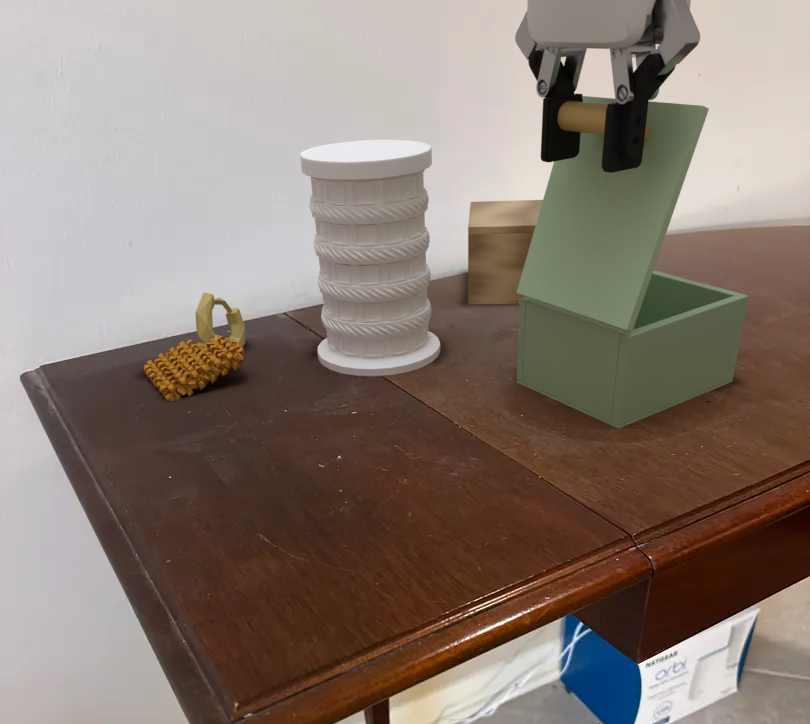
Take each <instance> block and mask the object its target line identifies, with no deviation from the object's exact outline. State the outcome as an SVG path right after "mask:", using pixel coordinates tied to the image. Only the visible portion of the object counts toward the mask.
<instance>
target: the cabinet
mask: <svg viewBox="0 0 810 724" xmlns="http://www.w3.org/2000/svg"><path fill="white" fill-rule="evenodd" d="M542 202H543V199H525V200H524V199H523V200H485V201H484V200H483V201H470V204H469V213H468V223H467V298H468V299H467V304H468V305H513V304H515V305H516V304H518V305H519V299H521V298H524V297H527V296H524V295H521V294H518V293H517V289H518V286H519V282H520V279H521V275H522V272H523V268H524V265H525V261H526V258H527V254H528V251H529V247H530V244H531V240H532V237H533V233H534V230H535V226H536V223H537V219H538V216H539V212H540V209H541V205H542Z"/></svg>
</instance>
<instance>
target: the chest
mask: <svg viewBox="0 0 810 724" xmlns="http://www.w3.org/2000/svg"><path fill="white" fill-rule="evenodd" d="M749 297H750V296H749V294H748V295H747V294H745V293H740V292H737V291H733V290H729V289H725V288H722V287H718V286H714V285H711V284H707V283H703V282H700V281H695V280H692V279H687V278H684V277H680V276H677V275H673V274H669V273H665V272H662V271H658V270H655V269H654V270H653V273H652V276H651V279H650V282H649V285H648V287H647V290H646V293H645V296H644V299H643V302H642V305H641V308H640V311H639V314H638V316H637V319H636V322H635V325H634V328H633V331H627V330H624V329H621V328H618V327H615V326H612V325H609V324H606V323H603V322H600V321H597V320H594V319H591V318H588V317H585V316H582V315H580V314H577V313H574V312H571V311H568V310H565V309H562V308H559V307H556V306H553V305H550V304H547V303H544V302H541V301H538V300H535V299H533V298H530V297H524V298H521V299H519V304H518V328H517V329H518V331H517V356H516V357H517V358H516V383H517V384H519V385H521V386H524V387H525V388H528V389H530V390H532V391H535V392H537V393H539V394H541V395H543V396H546V397H548V398H550V399H552V400H555V401H556V402H559V403H561V404H564V406H565V405H566V406H567V407H570V408H572V409H574V410H576V411H579V412H581V413H583V414H585V415H587V416H590V417H592V418H594V419H596V420H598V421H601V422H603V423H605V424H607V425H609V426H611V427H614V428H616V429H621V428H624V427H626V426H628V425H631V424H633V423H635V422H638V421H640V420H643V419H645V418H648V417H651V416H653V415H655V414H658V413H660V412H663V411H665V410H667V409H670V408H673V407H675V406H677V405H679V404H682V403H684V402H686V401H689V400H691V399H694V398H697V397H698V396H701V395H704V394H706V393H708V392H711V391H713V390H715V389H718V388H720V387H723V386H725V385H728V384H730V383H732V382H733V379H734V374H735V369H736V364H737V360H738V353H739V348H740V345H741V344H740V343H741V340H742V339H741V338H742V333H743V330H744V329H743V328H744V323H745V317H746V314H747V313H746V312H747V308H748V302H749Z"/></svg>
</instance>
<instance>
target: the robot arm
mask: <svg viewBox="0 0 810 724" xmlns="http://www.w3.org/2000/svg"><path fill="white" fill-rule="evenodd" d="M691 1H692V0H526V3H527V4H526V6H527V10H526V11H525V13H524V16H523V18H522V20H521V22H520V24H519V26H518V28H517V30H516V33H515V36H514V38H515V39H514V41H515V43H516V45H517V47H518V48H519V50H520V51H521V53H522V54H523V56H524V58H525V59H526V61H528V62H527V63H528V67H529V69H530V71H531V72H532V75H533V77H534V78H535V80H536V88H535V89H536V94H537V95H538V97H539V98H542V99H543V100H542V118H541V138H540V139H541V141H540V160H541V161H542V162H543V163H554V161H560V160H565V159H570V158H575V157H576V156H577V155H578V154H579V149H580V134H581V132H574V131H566V130H563V129H561V128H560V126H559V124H558V112H559V109H560V107H561V106H562V104H563V103H565V102H567V101H575V102H583V99H582V96H583V93H575V92H576V90H577V88H578V85H579V81H580V76H581V73H582V69H583V65H584V61H585V57H586V54H587V50H588V49H595V50H597V49H600V50H609V55H610V64H611V65H610V66H611V73H612V74H611V75H612V82H613V93H614V99H616V101H617V103H611V104H608V105H607V109H606V118H605V130H604V142H603V154H602V169H603V171H604V172H609V173H613V172H618V171H623V170H628V169H633V168H637V167H639V166H640V165H641V162H642V155H643V147H644V138H645V129H646V120H647V111H648V102H649V101H653V100H655V99H656V98H657V97H658V95H659V94H660V88H661V87H662V85H663V84H664V83H665V82H666V81H667V79H668V78H669V77H670V76H671V75H672V73H674V71H675V70H676V69H675V68H676V66H677V65H679V64H680V63H681V62H683V60H685V59H686V58H687V56H689V54H690V53H691V52H692V51H694V49H696V47H697V46H698V45H699V43H700V40H701V33H700V31H699V28H698V26H697V23H696V21H695V18H694V15H693V14H692V12H691V4H692V2H691ZM657 45H658V46H657ZM562 58H565V59H564V64H563V62H562ZM633 58H635V65H636V69H635V70H634V65H633Z"/></svg>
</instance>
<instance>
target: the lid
mask: <svg viewBox="0 0 810 724" xmlns="http://www.w3.org/2000/svg"><path fill="white" fill-rule="evenodd" d="M582 99H583V102H575V101H567V102H565V103H563V104H562V106H561V107H560V109H559V112H558V124H559V126H560V128H561V129H563V130H566V131H574V132H581V134H580V149H579V154H578V155H577V156H576V157H575V158H570V159H565V160H560V161H554V162H553V164H552V167H551V171H550V174H549V178H548V181H547V185H546V188H545V192H544V195H543V199H542V200H543V202H542V205H541V209H540V212H539V216H538V219H537V223H536V226H535V230H534V233H533V237H532V240H531V244H530V247H529V251H528V254H527V258H526V261H525V265H524V268H523V272H522V275H521V279H520V282H519V286H518V289H517V293H518V294H521V295H524V296H527V297H530V298H533V299H535V300H538V301H541V302H544V303H547V304H550V305H553V306H556V307H559V308H562V309H565V310H568V311H571V312H574V313H577V314H580V315H582V316H585V317H588V318H591V319H594V320H597V321H600V322H603V323H606V324H609V325H612V326H615V327H618V328H621V329H624V330H627V331H633V328H634V325H635V322H636V319H637V316H638V314H639V311H640V308H641V305H642V302H643V299H644V296H645V293H646V290H647V287H648V285H649V282H650V279H651V276H652V273H653V270H654V271H655V267H656V264H657V261H658V258H659V255H660V253H661V250H662V247H663V243H664V241H665V239H666V235H667V232H668V229H669V226H670V223H671V221H672V218H673V214H674V211H675V209H676V205H677V204H678V200H679V198H680V195H681V192H682V189H683V186H684V183H685V180H686V177H687V174H688V171H689V168H690V166H691V162H692V160H693V156H694V153H695V151H696V148H697V145H698V143H699V139H700V136H701V134H702V131H703V128H704V126H705V122H706V119H707V116H708V113H709V109H710V108H709V107H707V106H705V105H698V104H688V103H687V104H686V103H675V102H674V103H673V102H661V101H652V100H649V102H648V111H647V120H646V129H645V138H644V147H643V155H642V162H641V165H640V166H639V167H637V168H633V169H628V170H623V171H618V172H613V173H609V172H604V171H603V169H602V154H603V142H604V130H605V118H606V109H607V105H608V104H611V103H617V101H616V99H615V97H613V98H612V97H602V96H601V97H600V96H590V95H589V96H588V95H582Z"/></svg>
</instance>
